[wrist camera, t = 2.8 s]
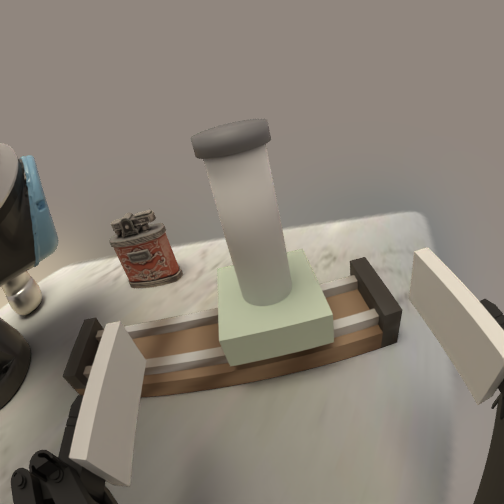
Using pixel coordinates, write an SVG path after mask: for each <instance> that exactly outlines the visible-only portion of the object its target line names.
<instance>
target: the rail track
mask: <svg viewBox="0 0 504 504" xmlns="http://www.w3.org/2000/svg"><path fill="white" fill-rule="evenodd" d="M319 285H320V287H321V289H322V291H323V294H324V296H325V298H326V300H327V302H328V305H329V307H330V309H331V311H332V314H333V327H334V342H333V343H329V344H326V345H322V346H318V347H315V348H311V349H307V350H303V351H299V352H295V353H291V354H286V355H282V356H278V357H274V358H269V359H265V360H260V361H255V362H250V363H245V364H240V365H235V366H230V365H229V363H228V360H227V358H226V356H225V354H224V351H223V349H222V347H221V344H220V342H219V324H218V308H215V309H210V310H206V311H201V312H196V313H191V314H186V315H181V316H176V317H171V318H166V319H161V320H156V321H150V322H145V323H139V324H134V325H128V326H124V327H125V329H126V331H127V332H128V334H129V335H130V337H131V338H132V340H133V342H134V343H135V345H136V346H137V348H138V349H139V351H140V352H141V354H142V355H143V356H144V358H145V359H146V366H145V372H144V378H143V384H142V390H141V397H152V396H162V395H172V394H180V393H188V392H195V391H202V390H209V389H215V388H221V387H227V386H233V385H239V384H244V383H249V382H254V381H259V380H264V379H269V378H273V377H278V376H282V375H287V374H291V373H295V372H299V371H303V370H307V369H311V368H315V367H319V366H322V365H326V364H330V363H333V362H337V361H340V360H344V359H347V358H350V357H354V356H357V355H360V354H363V353H366V352H370V351H373V350H376V349H379V348H382V347H385V346H387V345H390V344H393V343H396V342H397V338H398V333H399V327H400V321H401V315H402V309H401V307H400V306H399V304H398V303H397V301H396V300H395V299H394V297H393V296H392V294H391V293H390V291H389V290H388V288H387V287H386V286H385V284H384V283H383V281H382V280H381V279H380V277H379V276H378V274H377V273H376V272H375V270H374V269H373V267H372V266H371V265H370V263H369V262H368V261H367V259H366V258H365V257H363V258H359V259H356V260H352V261H350V276H348V277H345V278H341V279H337V280H333V281H329V282H325V283H322V284H319ZM103 332H104V329H103V328H102V326H101V325H100V323H99V322H98V320H97V319H96V318H92V319H86V320H84V323H83V325H82V327H81V330H80V332H79V335H78V337H77V340H76V342H75V345H74V347H73V350H72V352H71V355H70V358H69V360H68V363H67V366H66V368H65V371H64V374H63V377H64V378H65V380H66V381H67V382H68V383H69V384H70V385H71V386H72V387H73V388H74V389H75V390H76V391H77V392H78V393H79V394H80V395H84V393H85V389H86V386H87V382H88V379H89V375H90V372H91V369H92V366H93V362H94V359H95V356H96V353H97V350H98V347H99V344H100V341H101V338H102V335H103ZM141 397H140V398H141Z"/></svg>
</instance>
